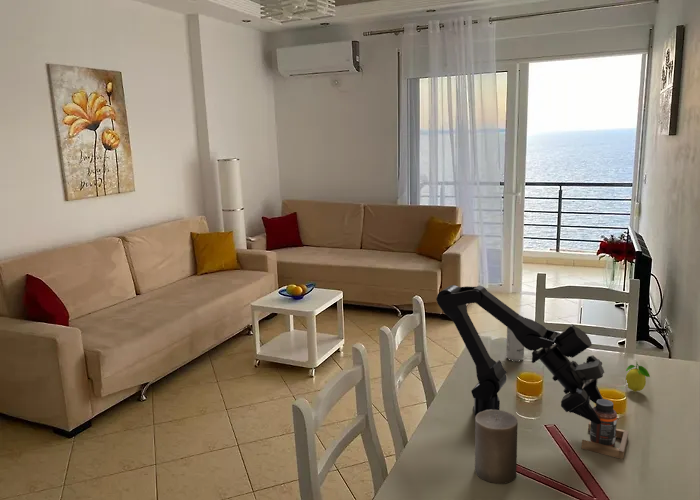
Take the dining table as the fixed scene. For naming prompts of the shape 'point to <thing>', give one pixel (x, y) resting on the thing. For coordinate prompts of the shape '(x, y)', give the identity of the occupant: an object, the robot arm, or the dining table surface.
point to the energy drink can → (514, 347)
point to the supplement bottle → (604, 423)
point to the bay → (608, 449)
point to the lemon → (636, 377)
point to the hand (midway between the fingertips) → (602, 415)
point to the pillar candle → (496, 446)
